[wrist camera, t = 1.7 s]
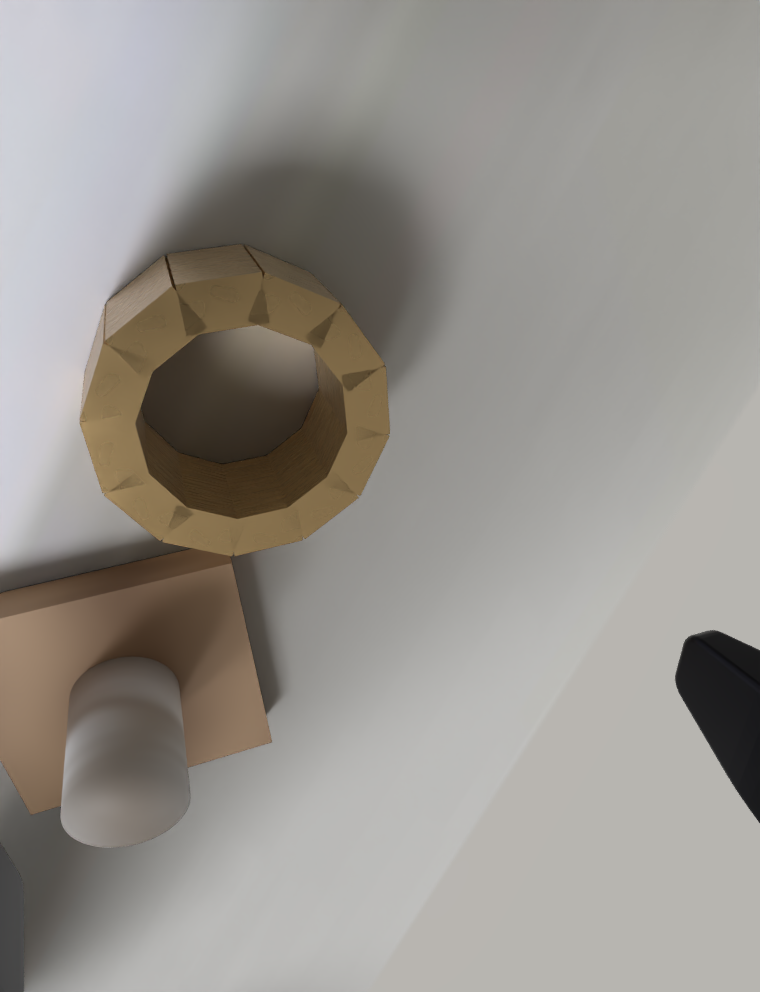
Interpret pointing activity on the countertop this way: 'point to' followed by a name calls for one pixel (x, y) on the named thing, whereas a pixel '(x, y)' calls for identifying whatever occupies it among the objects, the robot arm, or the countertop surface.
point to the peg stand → (125, 691)
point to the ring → (248, 483)
